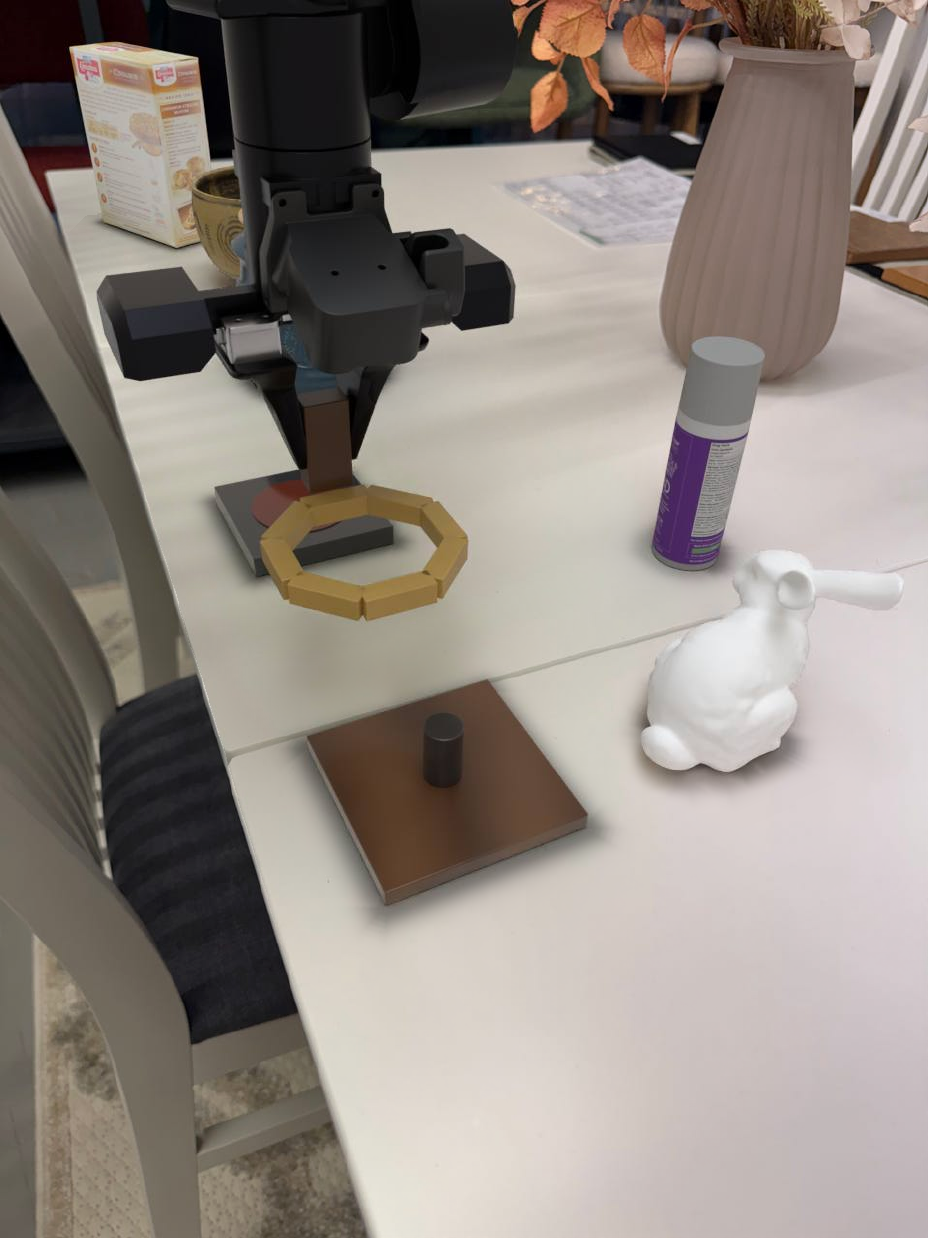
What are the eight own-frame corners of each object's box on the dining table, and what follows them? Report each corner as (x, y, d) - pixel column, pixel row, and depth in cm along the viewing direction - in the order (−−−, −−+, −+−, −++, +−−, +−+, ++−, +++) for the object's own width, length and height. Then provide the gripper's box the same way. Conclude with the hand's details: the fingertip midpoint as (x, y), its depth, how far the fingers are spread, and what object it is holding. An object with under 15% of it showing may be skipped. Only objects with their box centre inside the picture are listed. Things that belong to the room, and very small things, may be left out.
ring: (303, 639, 43) (292, 522, 39) (237, 513, 50) (222, 406, 46) (494, 588, 46) (501, 476, 42) (404, 477, 54) (403, 374, 50)
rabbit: (721, 650, 59) (766, 484, 52) (859, 732, 54) (932, 560, 46) (595, 745, 53) (626, 569, 45) (738, 848, 47) (800, 669, 40)
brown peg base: (385, 906, 44) (383, 845, 41) (307, 748, 52) (301, 687, 49) (586, 827, 48) (597, 766, 45) (486, 691, 56) (490, 631, 53)
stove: (256, 577, 63) (253, 557, 62) (216, 503, 70) (213, 485, 69) (393, 543, 67) (393, 524, 66) (343, 476, 74) (342, 458, 73)
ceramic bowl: (377, 316, 100) (373, 161, 90) (212, 329, 96) (190, 168, 86) (339, 248, 116) (332, 111, 107) (196, 256, 112) (176, 115, 103)
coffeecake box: (222, 236, 118) (200, 56, 106) (175, 249, 114) (147, 63, 101) (147, 210, 125) (119, 39, 113) (101, 222, 121) (65, 45, 109)
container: (638, 540, 68) (674, 340, 59) (693, 528, 70) (736, 331, 61) (674, 576, 65) (718, 370, 56) (731, 562, 67) (783, 360, 57)
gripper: (106, 210, 31) (180, 589, 41) (591, 165, 38) (555, 500, 48) (60, 134, 39) (132, 468, 49) (470, 107, 45) (460, 406, 55)
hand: (325, 461), depth 50 cm, fingers closed on ring, 2 cm apart
